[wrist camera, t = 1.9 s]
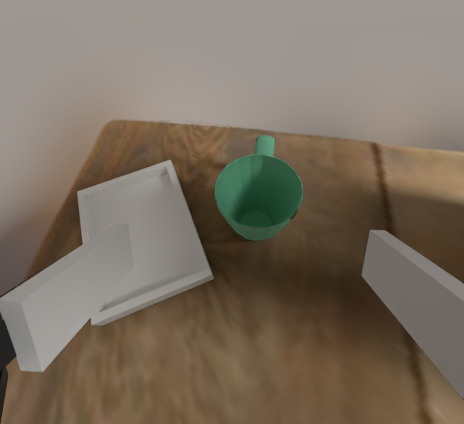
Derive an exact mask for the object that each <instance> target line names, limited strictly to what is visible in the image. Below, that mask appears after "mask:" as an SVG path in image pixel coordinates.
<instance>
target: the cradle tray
mask: <svg viewBox="0 0 464 424" xmlns="http://www.w3.org/2000/svg"><path fill="white" fill-rule="evenodd" d="M77 196H78V205H79V214H80V224H81V233H82V242H83V244H84V243H86V242H88V241H89V240H91V239H92V238H94V237H95V236H97V235H98V234H100V233H101V232H103V231H105V230H106V229H108V228H109V227H111V226H112V225H114V224H128V226H129V233H130V240H131V248H132V255H133V262H134V268H133V269H132V271H131V272H130V273H129V274H128V275H127V276H126V277H125V279H124V280H123V281H122V282H121V283H120V284H119V285H118V287H117V288H116V289H115V290H114V291H113V292H112V293H111V295H110V296H109V297H108V298H107V299H106V300H105V301H104V303H103V304H102V305H101V306H100V307H99V308H98V309H97V311H96V312H95V313H94V314H93V315H92V316H91V325H102V326H103V325H106V324H108V323H110V322H113V321H115V320H117V319H120V318H122V317H125V316H127V315H129V314H132V313H134V312H137V311H139V310H141V309H144V308H146V307H148V306H151V305H153V304H156V303H158V302H160V301H163V300H165V299H168V298H170V297H172V296H175V295H177V294H180V293H182V292H184V291H187V290H189V289H191V288H194V287H196V286H199V285H201V284H203V283H206V282H208V281H211V280H213V279H214V276H213V273H212V271H211V268H210V265H209V262H208V260H207V257H206V254H205V251H204V249H203V246H202V243H201V240H200V238H199V235H198V232H197V229H196V227H195V224H194V221H193V218H192V216H191V213H190V210H189V207H188V205H187V202H186V199H185V196H184V194H183V191H182V188H181V185H180V183H179V180H178V177H177V174H176V172H175V169H174V167H173V164H172V162H171V160H168V161H165V162H162V163H159V164H156V165H153V166H150V167H147V168H145V169H142V170H139V171H136V172H133V173H130V174H127V175H124V176H121V177H118V178H115V179H112V180H110V181H107V182H104V183H101V184H98V185H95V186H92V187H89V188H86V189H83V190H80V191H78V192H77Z"/></svg>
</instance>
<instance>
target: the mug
mask: <svg viewBox="0 0 464 424" xmlns="http://www.w3.org/2000/svg"><path fill="white" fill-rule="evenodd" d="M274 144H275V139H274V138H273V137H271V136H267V135H264V136H258V137H257V139H256V146H255V153H254V155H247V156H244V157H240V158H237V159H236V160H234V161H232V162H231V163H229V164H227V165H226V167H225V168H224V169H223V170H222V171H221V172H220V173H219V175H218V178H217V180H216V182H215V191H214V197H215V200H216V203H217V206H218V209H219V212H220V213H221V214H222V216H223V217H224V218H225V220H226V221H227V222H228V223H229V225H230V226H231V227H232V228H233V230H234V231H235V232H236V233H238V234H239V235H241V236H242V237H244V238H245V239H248V240H252V241H262V240H265V239H268V238H270V237H272V236H274V235H275V234H276V233H277V232H279V231H280V230H281V229H282V228H283V227H285V226H286V225H287V224H288V223H289V222H290V221H291V220H292V219H293V217H294V216H295V215H296V213H297V212H298V210H299V209H300V207H301V203H302V199H303V194H304V192H303V186H302V181H301V179H300V177H299V176H298V174H297V172H296V171H295V170H294V169H293V168H292V167H291V166H290V165H289V164H288V163H287V162H285V161H283V160H281V159H279V158H277V157H273V153H274Z"/></svg>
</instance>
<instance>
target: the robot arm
mask: <svg viewBox="0 0 464 424" xmlns="http://www.w3.org/2000/svg"><path fill="white" fill-rule="evenodd" d="M133 268H134V262H133V255H132V248H131V240H130V233H129V226H128V224H114V225H112V226H111V227H109V228H108V229H106V230H105V231H103V232H101V233H100V234H98V235H97V236H95V237H94V238H92V239H91V240H89V241H88V242H86V243H84V244H83V245H81V246H80V247H78V248H77V249H75V250H74V251H72V252H71V253H69V254H68V255H66V256H64V257H63V258H61V259H60V260H58V261H57V262H55V263H54V264H52V265H51V266H49V267H47V268H46V269H43V270H41V271H39V272H37V273H36V274H34V275H33V276H31V277H30V278H28V280H25V281H23V282H22V283H20V284H19V285H18V286H16V287H14V288H12V289H11V290H9V291H8V292H6V293H5V294H3V295H2V296H0V423H1V417H2V411H3V405H4V399H5V392H6V386H7V380H8V372H7V369H6V365H7V364H9V363H10V362H11V361H12V360H13V359H14V358H15V357H16V358H17V361H18V364H19V367H20V370H21V371H35V372H43V371H44V370H45V369H46V368H47V366H48V365H49V364H50V363H51V362H52V361H53V360H54V358H55V357H56V356H57V355H58V354H59V353H60V352H61V351H62V349H63V348H64V347H65V346H66V345H67V344H68V343H69V341H70V340H71V339H72V338H73V337H74V336H75V335H76V333H77V332H78V331H79V330H80V329H81V328H82V327H83V325H84V324H85V323H86V322H87V321H88V320H89V319H90V317H91V316H92V315H93V314H94V313H95V312H96V311H97V309H98V308H99V307H100V306H101V305H102V304H103V303H104V301H105V300H106V299H107V298H108V297H109V296H110V295H111V293H112V292H113V291H114V290H115V289H116V288H117V287H118V285H119V284H120V283H121V282H122V281H123V280H124V279H125V277H126V276H127V275H128V274H129V273H130V272H131V271H132V269H133ZM361 276H362V277H363V278H364V279H365V281H366V282H367V283H368V284H369V285H370V287H371V288H372V289H373V290H374V292H375V293H376V294H377V295H378V296H379V298H380V299H381V300H382V301H383V303H384V304H385V305H386V306H387V307H388V309H389V310H390V311H391V312H392V314H393V315H394V316H395V317H396V318H397V320H398V321H399V322H400V323H401V325H402V326H403V327H404V328H405V329H406V331H407V332H408V333H409V334H410V335H411V337H412V338H413V339H414V340H415V342H416V343H417V344H418V345H419V346H420V348H421V349H422V350H423V351H424V353H425V354H426V355H427V356H428V357H429V359H430V360H431V361H432V362H433V364H434V365H435V366H436V367H437V368H438V370H439V371H440V372H441V373H442V375H443V376H444V377H445V378H446V379H447V381H448V382H449V383H450V384H451V386H452V387H453V388H454V389H455V390H456V392H457V393H458V394H459V395H460V397H461V398H462V399H464V282H462V281H460V280H458V279H456V278H455V277H453V276H452V275H450V274H449V273H447V272H446V271H444V270H443V269H441V268H440V267H438V266H437V265H436V264H434V263H433V262H431V261H430V260H428V259H427V258H425V257H424V256H422V255H421V254H419V253H418V252H416V251H415V250H413V249H412V248H410V247H409V246H408V245H406V244H405V243H403V242H402V241H400V240H399V239H397V238H396V237H394V236H393V235H391V234H390V233H388V232H387V231H385V230H370V233H369V238H368V243H367V249H366V254H365V259H364V265H363V270H362V275H361Z"/></svg>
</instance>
